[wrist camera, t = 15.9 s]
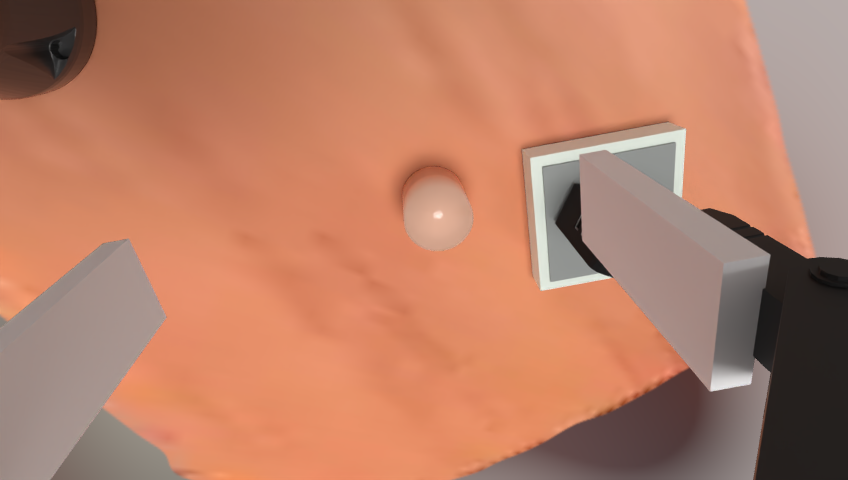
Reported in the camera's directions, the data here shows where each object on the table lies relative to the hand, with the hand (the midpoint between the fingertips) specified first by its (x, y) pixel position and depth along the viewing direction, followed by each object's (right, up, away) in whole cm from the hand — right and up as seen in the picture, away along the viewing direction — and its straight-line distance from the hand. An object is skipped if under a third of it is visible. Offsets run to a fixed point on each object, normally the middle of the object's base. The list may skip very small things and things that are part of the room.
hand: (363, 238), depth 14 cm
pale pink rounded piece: (+3, +4, +33) cm, 34 cm away
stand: (+19, +4, +35) cm, 40 cm away
